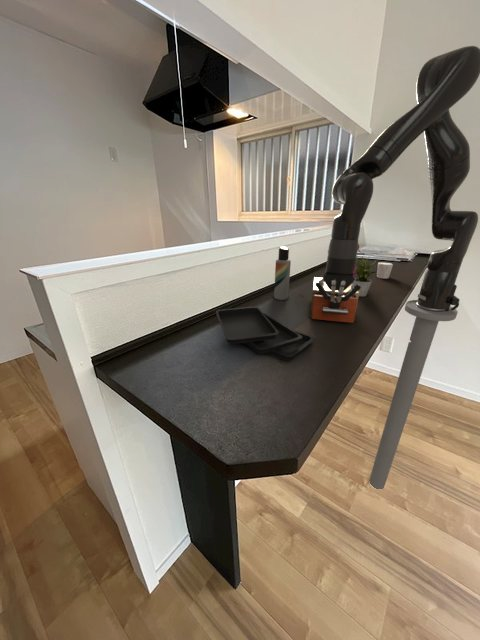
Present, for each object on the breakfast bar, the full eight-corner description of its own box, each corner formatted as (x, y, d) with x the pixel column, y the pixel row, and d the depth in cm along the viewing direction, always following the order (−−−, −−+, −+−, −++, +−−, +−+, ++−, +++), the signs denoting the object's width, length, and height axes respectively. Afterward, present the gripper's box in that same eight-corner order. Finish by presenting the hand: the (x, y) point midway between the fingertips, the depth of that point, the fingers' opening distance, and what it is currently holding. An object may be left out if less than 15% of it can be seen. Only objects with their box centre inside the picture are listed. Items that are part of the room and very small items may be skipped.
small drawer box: (353, 322, 85) (359, 293, 81) (309, 317, 88) (312, 289, 84) (349, 305, 98) (353, 279, 95) (311, 302, 102) (314, 277, 98)
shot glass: (380, 279, 131) (383, 265, 129) (372, 275, 138) (375, 262, 135) (393, 278, 132) (396, 264, 129) (385, 275, 138) (388, 261, 135)
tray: (320, 336, 76) (322, 319, 74) (290, 378, 58) (291, 358, 56) (233, 315, 90) (233, 301, 88) (187, 344, 72) (185, 327, 70)
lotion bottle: (281, 294, 111) (283, 245, 102) (291, 298, 106) (294, 247, 98) (271, 297, 107) (273, 247, 99) (281, 301, 103) (284, 249, 95)
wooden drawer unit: (355, 329, 78) (359, 304, 74) (311, 324, 81) (313, 300, 77) (349, 306, 95) (352, 285, 91) (313, 303, 98) (315, 282, 94)
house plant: (331, 291, 114) (337, 252, 108) (356, 287, 119) (362, 250, 113) (356, 301, 102) (364, 259, 96) (382, 296, 107) (391, 256, 101)
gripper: (317, 256, 71) (310, 315, 78) (369, 258, 68) (357, 320, 75) (317, 252, 78) (311, 306, 85) (365, 253, 75) (355, 310, 82)
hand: (333, 312), depth 80 cm, fingers closed
